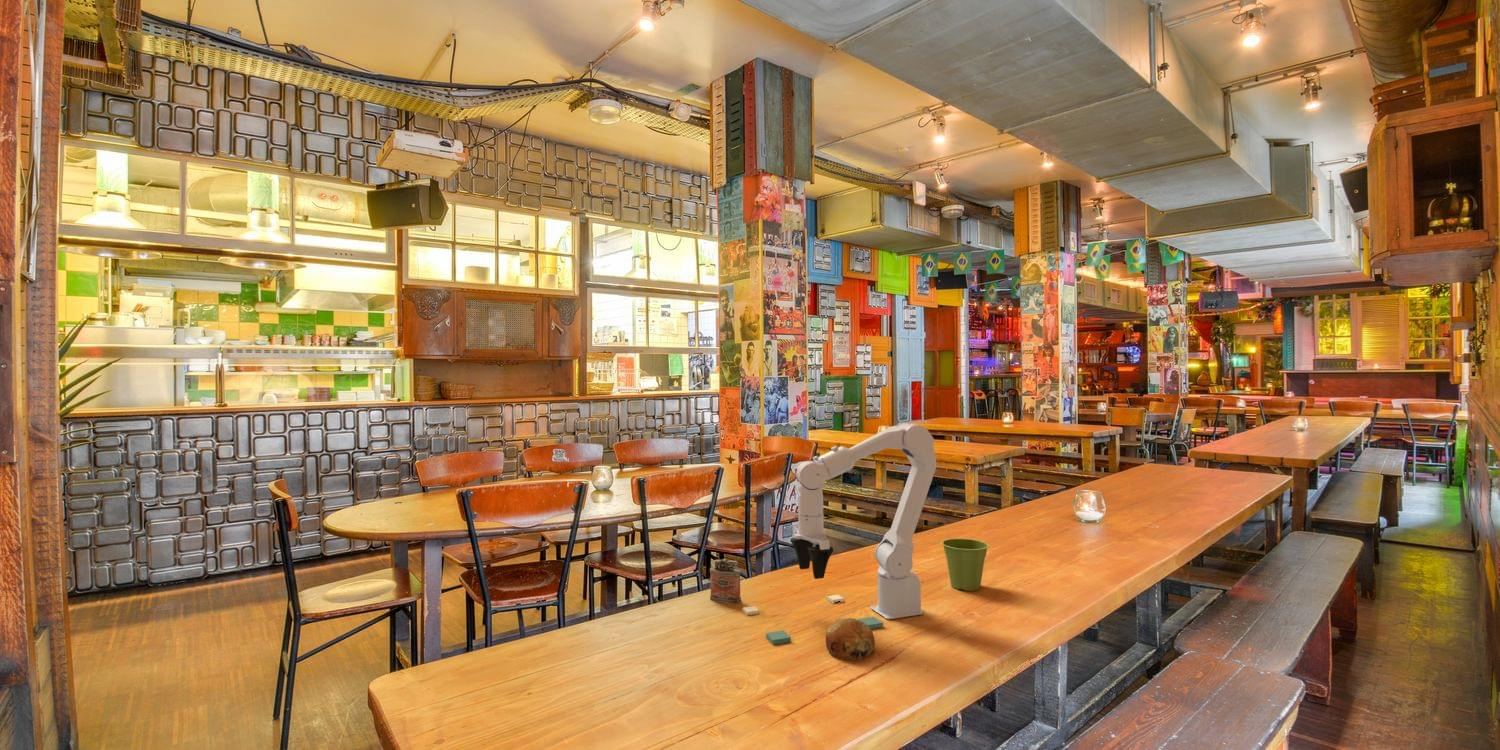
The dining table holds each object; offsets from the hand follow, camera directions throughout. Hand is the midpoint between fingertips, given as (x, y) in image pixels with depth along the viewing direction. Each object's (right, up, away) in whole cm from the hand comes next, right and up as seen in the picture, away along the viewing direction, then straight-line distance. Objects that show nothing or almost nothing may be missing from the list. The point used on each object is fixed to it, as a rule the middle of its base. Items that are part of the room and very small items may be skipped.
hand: (811, 573), depth 154 cm
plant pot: (+42, -10, +20) cm, 47 cm away
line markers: (-1, -10, -2) cm, 10 cm away
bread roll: (+6, -10, -19) cm, 22 cm away
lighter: (-20, -10, +11) cm, 25 cm away
